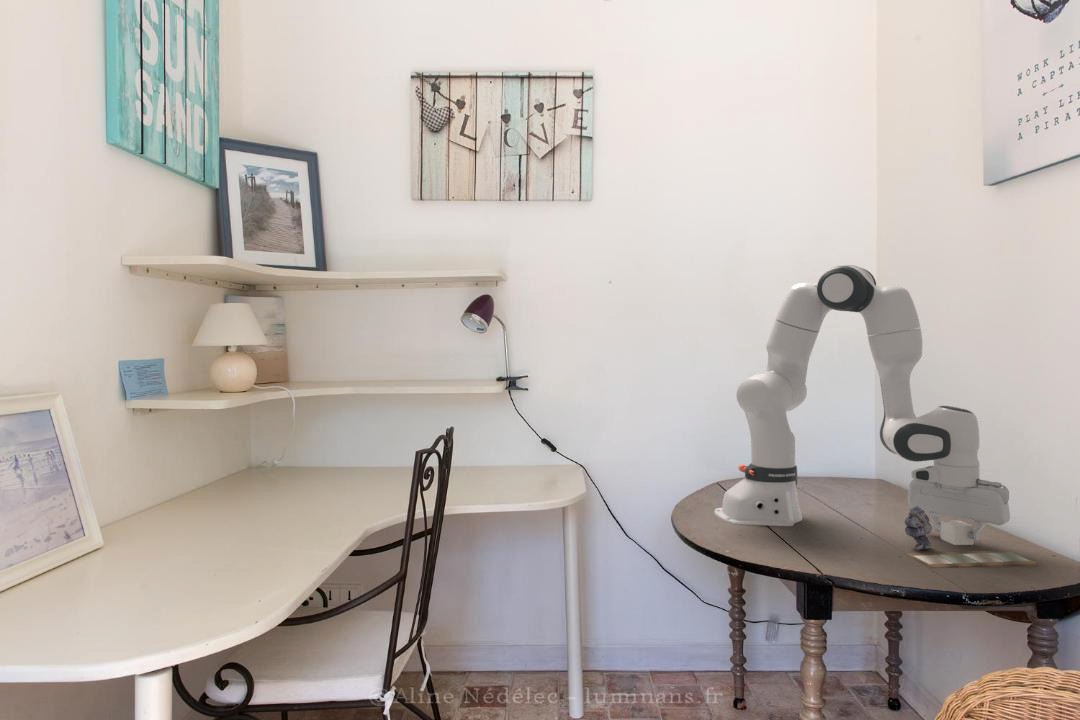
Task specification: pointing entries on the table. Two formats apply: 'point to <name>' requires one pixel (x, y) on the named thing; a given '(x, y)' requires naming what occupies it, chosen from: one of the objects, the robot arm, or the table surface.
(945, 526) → the cream white cube
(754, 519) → the robot arm
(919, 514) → the seashell
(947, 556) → the brown rectangular frame
